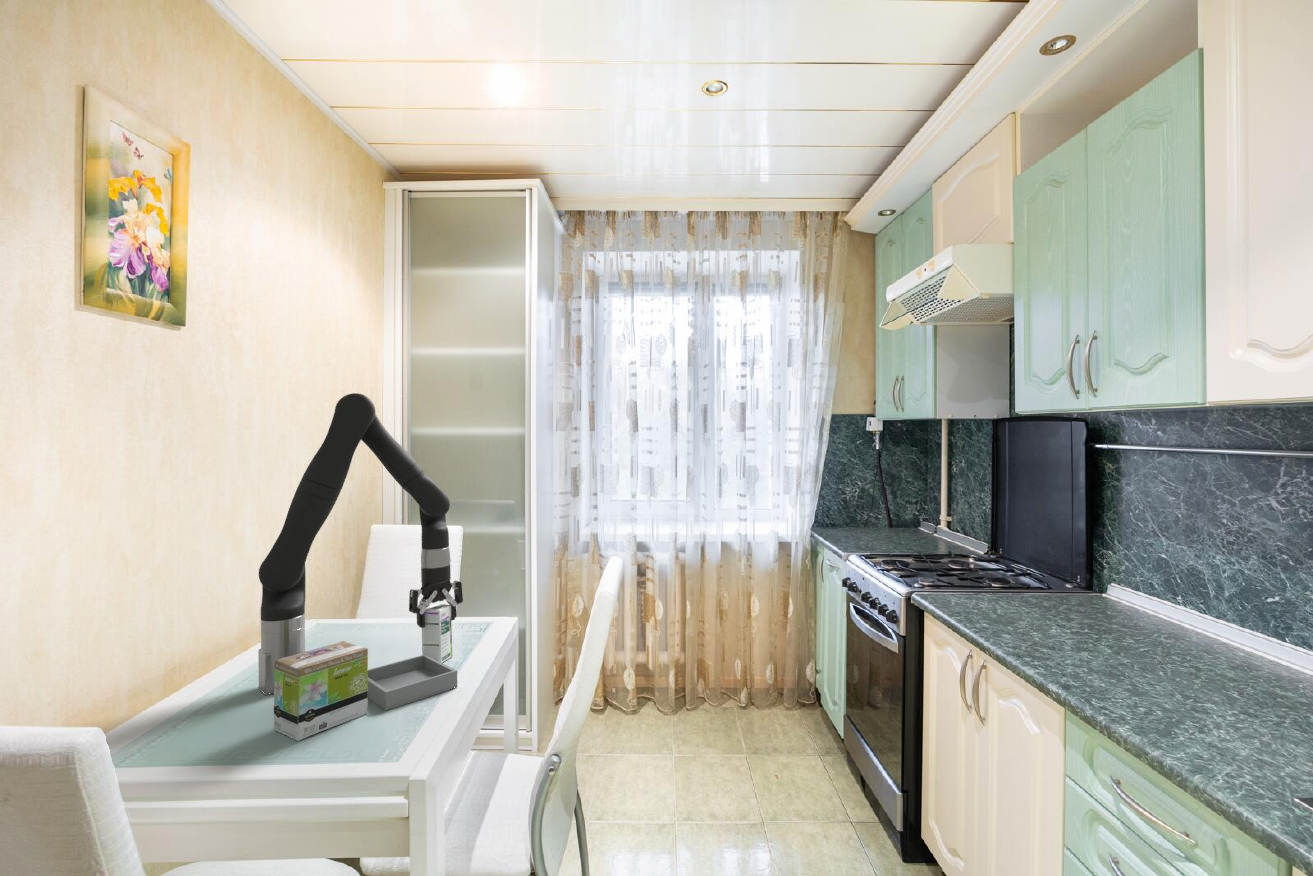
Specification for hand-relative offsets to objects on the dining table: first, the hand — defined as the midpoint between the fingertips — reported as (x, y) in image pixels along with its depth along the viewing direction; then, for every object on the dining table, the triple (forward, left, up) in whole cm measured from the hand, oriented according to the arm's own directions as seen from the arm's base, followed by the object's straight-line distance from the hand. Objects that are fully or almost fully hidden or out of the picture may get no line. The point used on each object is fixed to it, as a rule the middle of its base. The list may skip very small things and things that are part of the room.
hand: (437, 623), depth 166 cm
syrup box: (0, 0, -10) cm, 10 cm away
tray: (-14, -13, -10) cm, 22 cm away
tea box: (-34, -17, -10) cm, 39 cm away
